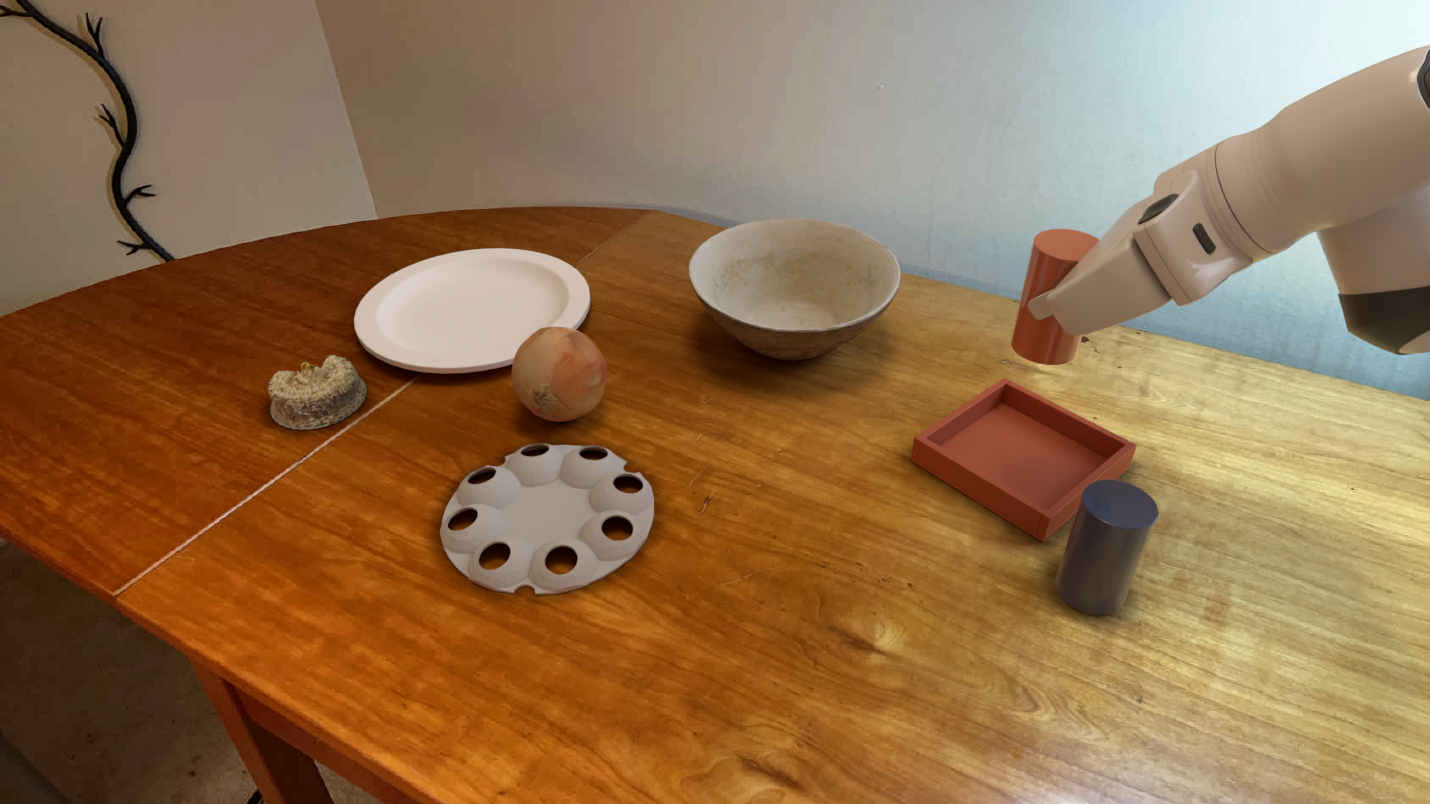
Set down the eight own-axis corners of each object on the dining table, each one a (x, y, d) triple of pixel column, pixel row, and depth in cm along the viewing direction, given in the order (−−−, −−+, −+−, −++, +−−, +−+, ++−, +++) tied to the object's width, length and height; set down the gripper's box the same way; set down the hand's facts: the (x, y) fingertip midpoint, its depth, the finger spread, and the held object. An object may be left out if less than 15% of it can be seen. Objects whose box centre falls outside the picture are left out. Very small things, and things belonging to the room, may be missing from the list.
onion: (510, 441, 93) (494, 361, 87) (527, 384, 101) (514, 306, 95) (604, 441, 93) (596, 360, 87) (614, 384, 100) (606, 306, 94)
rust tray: (1129, 468, 89) (1137, 444, 87) (1042, 542, 81) (1050, 518, 79) (999, 399, 98) (1004, 376, 96) (910, 460, 90) (913, 437, 88)
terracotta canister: (1090, 358, 78) (1121, 254, 72) (1034, 370, 77) (1060, 265, 71) (1052, 325, 82) (1078, 224, 76) (998, 335, 81) (1020, 234, 75)
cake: (383, 408, 98) (373, 369, 95) (291, 447, 93) (276, 408, 90) (346, 362, 104) (334, 324, 100) (257, 397, 99) (241, 358, 95)
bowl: (838, 422, 95) (845, 342, 89) (651, 356, 105) (646, 280, 99) (921, 320, 111) (932, 246, 105) (752, 271, 121) (753, 201, 115)
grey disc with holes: (692, 483, 87) (692, 468, 86) (574, 628, 74) (572, 612, 72) (529, 425, 95) (526, 410, 94) (394, 546, 81) (389, 530, 80)
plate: (319, 315, 113) (314, 298, 111) (513, 243, 127) (511, 228, 126) (429, 417, 96) (424, 399, 95) (637, 321, 111) (636, 304, 109)
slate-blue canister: (1139, 606, 75) (1175, 519, 69) (1080, 622, 74) (1112, 535, 68) (1097, 558, 79) (1127, 472, 73) (1041, 573, 78) (1067, 487, 72)
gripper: (1224, 135, 72) (1074, 216, 83) (1144, 230, 59) (979, 311, 70) (1266, 202, 72) (1111, 273, 83) (1194, 310, 60) (1023, 378, 70)
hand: (1050, 291), depth 76 cm, fingers closed on terracotta canister, 5 cm apart
